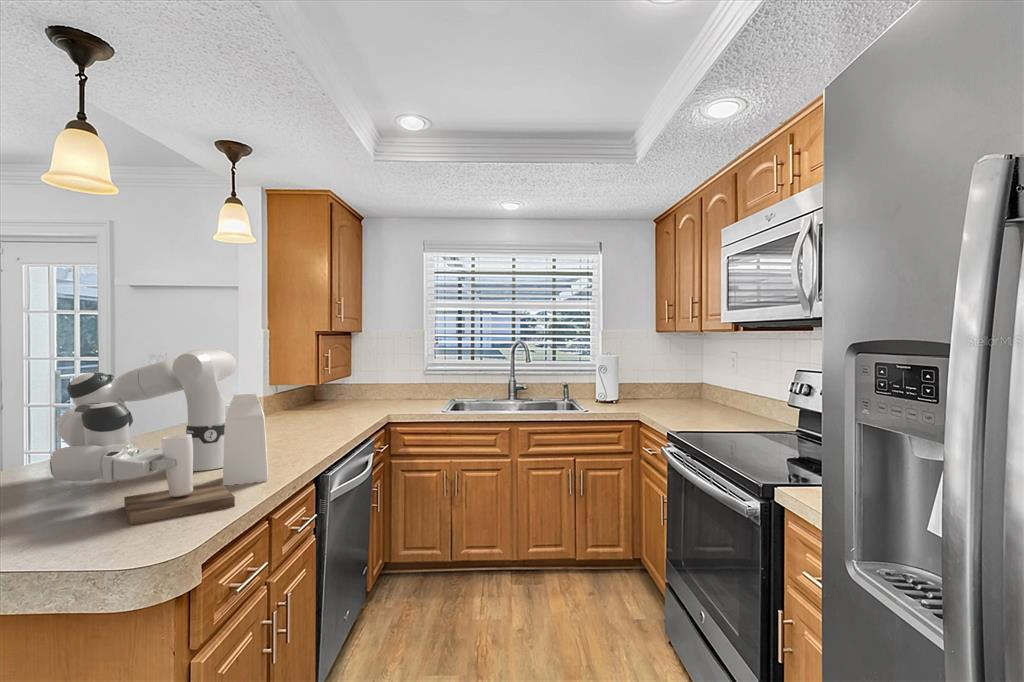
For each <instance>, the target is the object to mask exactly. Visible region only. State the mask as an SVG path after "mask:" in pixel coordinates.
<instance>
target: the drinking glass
mask: <svg viewBox="0 0 1024 682" xmlns="http://www.w3.org/2000/svg"><path fill="white" fill-rule="evenodd" d="M161 447H162V454H163V460H177V465H176V466H175V467H173V468H164V471H165V476H166V481H167V487H168V488H167V489H168V490H169V495H170V496H171V497H179V496H184V495H188V494H190V493H192V492H193V486H194V471H193V441H192V435H191V434H186V433H181V434H180V433H179V434H174V435H173V434H171V435H168V436H164V437H162V438H161Z"/></svg>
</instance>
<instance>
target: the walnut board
mask: <svg viewBox="0 0 1024 682" xmlns="http://www.w3.org/2000/svg"><path fill="white" fill-rule="evenodd" d="M235 498H236V497H235V495H234V494H232V492H231V491H230V490H229V489H228V488H227V487H226V486H223V483H221V482H220V481H218V482H212V483H211V482H210V483H206V484H205V483H204V484H197V485H193V492H192V493H190V494H188V495H184V496H179V497H171V496H170V495H169V489H168V490H167V489H166V490H160V491H159V490H158V491H154V492H148V493H139V494H135V495H133V494H132V495H128V496H124V498H123V501H124V503H123V504H124V506H125V507H124V510H125V509H126V510H125V513H126V515H127V516H126V517H127V518H128V521H129V525H130V526H134V525H133V524H135V525H139V524H138V523H141V524H145V523H144V522H146V523H150V522H149V521H152V522H155V520H157V521H161V520H160V519H162V520H166V518H168V519H172V518H171V517H173V518H176V517H175V516H179V517H181V516H180V515H184V516H187V515H186V514H190V515H194V514H193V513H195V514H199V513H198V512H201V513H204V512H203V511H206V512H210V511H209V510H212V511H215V510H214V509H217V510H220V509H219V508H222V509H226V508H225V507H228V508H231V507H230V506H233V507H236V499H235Z"/></svg>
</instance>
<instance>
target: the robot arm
mask: <svg viewBox="0 0 1024 682" xmlns="http://www.w3.org/2000/svg"><path fill="white" fill-rule="evenodd" d="M236 367H237V361H236V359H235V357H234V356H233V355H232V354H231V353H230V352H227V351H224V350H223V349H198V350H197V349H196V350H189V351H187V352H185V353H182V354H180V355H179V356H177V357H175V358H169V359H165V360H162V361H158V362H154V363H151V364H148V365H144V366H140V367H137V368H135V369H131V370H130V371H127V372H125V373H123V374H121V375H120V376H118V377H117V378H115V376H114V375H113V374H109V373H108V374H106V373H103V372H96V371H95V372H94V371H92V372H87V373H83V374H81V375H78V376H77V377H75V378H74V379H73V380H72V381H70V382H69V383H68V385H67V387H66V390H67V393H68V395H69V398H71V399H72V400H73V402H74V405H75V407H74V408H73V407H72V408H70V409H68V410H66V411H64V412H63V413H62V414H61V415H60V416H59V417H58V420H57V425H56V426H57V427H56V429H57V432H58V434H59V437H60V438H61V439H62V440H63V442H64V443H65V444H66V445H67V446H66V447H65V446H64V447H60V448H57V449H55V450H54V451H53V452H52V454H51V457H50V461H49V468H50V469H49V470H50V474H51V475H52V477H53V478H54V479H56V480H59V481H66V482H67V481H69V482H90V481H91V482H93V481H94V480H102V481H103V483H104V484H110V483H115V482H117V481H126V480H128V481H129V480H132V479H138V478H143V477H145V476H147V475H150V474H151V473H153V472H156V471H157V470H159V471H160V470H163V469H164V470H165V468H173V467H175V466H176V465H177V460H163V454H162V446H158V447H157V446H156V447H149V448H147V449H144V450H142V449H141V448H138V446H137V445H136V444H134V443H131V432H130V428H131V427H132V424H133V421H134V418H133V415H132V412H131V411H130V410H129V409H128V407H127V405H126V403H125V402H127V403H128V402H129V403H130V402H139V401H140V402H141V401H146V400H151V399H155V398H159V397H163V396H166V395H170V394H173V393H178V392H180V391H183V392H184V395H185V398H186V399H185V400H186V406H187V425H186V429H185V434H191V435H192V441H193V472H194V471H195V472H197V471H211V470H217V469H221V468H222V469H223V460H224V431H225V419H226V399H225V398H224V396H223V395H222V394H221V391H220V388H219V386H218V382H219V381H223V380H225V379H227V378H228V377H230V376H232V374H234V372H235V370H236Z"/></svg>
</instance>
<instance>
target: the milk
mask: <svg viewBox="0 0 1024 682" xmlns="http://www.w3.org/2000/svg"><path fill="white" fill-rule="evenodd" d="M229 403H230V404H229V406H228V410H227V411H226V412H227V413H226V415H225V431H224V460H223V467H222V485H223V486H224V485H229V486H235V485H234V484H239V485H245V484H244V483H249V484H254V483H253V482H258V483H264V482H263V481H269V467H268V465H269V464H268V452H267V435H266V434H267V433H266V422H265V421H266V420H265V419H266V417H265V412H264V410H263V407H262V403H261V401H260V399H259V397H258V395H257V393H256V392H255V393H254V392H253V393H237V394H236V393H234V396H233V397H232V399H231V401H230V402H229ZM224 487H225V486H224Z"/></svg>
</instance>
